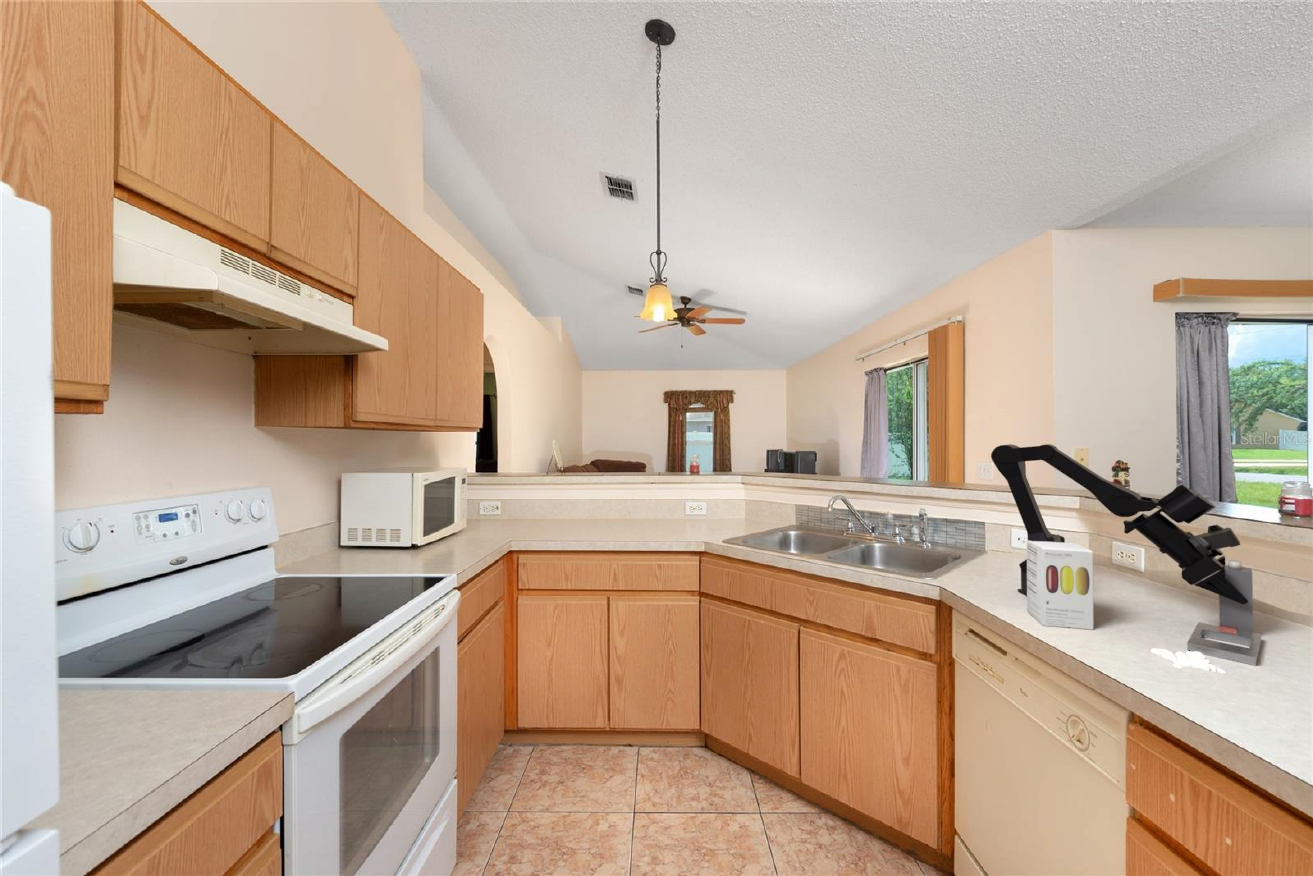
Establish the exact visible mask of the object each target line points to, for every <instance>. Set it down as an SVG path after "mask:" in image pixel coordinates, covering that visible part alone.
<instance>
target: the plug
mask: <svg viewBox="0 0 1313 876" xmlns="http://www.w3.org/2000/svg"><path fill="white" fill-rule="evenodd" d="M1242 565H1243V564H1242V561H1241V560H1234V559H1228V565H1226V564H1225V565H1223V566H1225V576H1226V578H1227V579H1228V580H1229V581H1230V582H1231V583H1232V584H1233V585H1234V586H1235V587H1236V588H1237V589H1238V590H1239V591H1240V592H1241V593H1242V594H1243V595H1244V597H1245V598H1246V599H1247V600H1248V603H1246V604H1241V603H1238V602H1236V601H1233V600H1231V599H1228V598H1226V597H1223V596H1221V595H1218V602H1219V603H1218V613H1219V614H1218V616H1219V617H1218V619H1219V621H1218V622H1219V624H1222V625H1227V626H1232V627H1237V630H1243V631H1248V632H1253V633H1254V606H1253V605H1254V602H1253V601H1254V600H1253V596H1254V594H1253V593H1254V592H1253V590H1254V588H1253V587H1254V586H1253V569H1252V568H1250V567H1245V566H1244V567H1243V566H1242ZM1219 624H1218V625H1219Z"/></svg>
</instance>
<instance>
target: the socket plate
mask: <svg viewBox="0 0 1313 876" xmlns="http://www.w3.org/2000/svg"><path fill="white" fill-rule="evenodd" d="M1202 636H1206V637H1205V638H1203V637H1202ZM1201 637H1202V638H1201ZM1207 637H1209V638H1207ZM1206 638H1207V639H1206ZM1212 638H1213V639H1212ZM1210 639H1211V640H1210ZM1220 641H1222V642H1220ZM1226 641H1227V643H1226ZM1230 643H1232V644H1230ZM1234 644H1236V645H1234ZM1261 644H1262V634H1261V633H1258V632H1254V631H1253V632H1248V631H1243V630H1237V627H1232V626H1227V625H1222V624H1218V625H1216V624H1211V623H1210V624H1209V623H1205V622H1200V621H1198V622H1197V624H1196V626H1195V628H1194V630H1193V631H1192V632H1191V635H1190V636H1189V639H1188V640H1187V642H1186V645H1187V646H1186V650H1190V651H1191V652H1192V651H1198V652H1201V653H1202V654H1203V655H1205V656H1209V655H1211V656H1210V657H1214V658H1215V657H1216V658H1219V659H1224V660H1227V659H1231V660H1230V661H1232V660H1234V661H1233V662H1236V661H1239V662H1238V663H1241V662H1242V664H1245V665H1250V664H1251V666H1254V665H1255V667H1256V666H1257V662H1258V658H1259V654H1260V649H1261ZM1239 645H1240V646H1239ZM1241 645H1243V646H1241ZM1244 646H1245V647H1244ZM1246 646H1247V647H1246Z"/></svg>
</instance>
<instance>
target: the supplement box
mask: <svg viewBox="0 0 1313 876" xmlns="http://www.w3.org/2000/svg"><path fill="white" fill-rule="evenodd" d="M1026 559H1027V596H1026V611H1027V613H1028V614H1029V615H1031V616H1032V617H1033V618H1034V619H1035V620H1036V621H1037V622H1038V623H1040V624H1041V625H1042V626H1043V625H1044V626H1045V627H1046V626H1047V627H1058V628H1067V627H1071V628H1070V629H1079V630H1089V631H1090V630H1092V631H1094V628H1095V627H1094V551H1093V550H1091V549H1089V548H1086V547H1084V546H1082V545H1079V544H1077V543H1075V542H1065V543H1063V542H1043V541H1028V540H1026ZM1044 626H1043V627H1044Z"/></svg>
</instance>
